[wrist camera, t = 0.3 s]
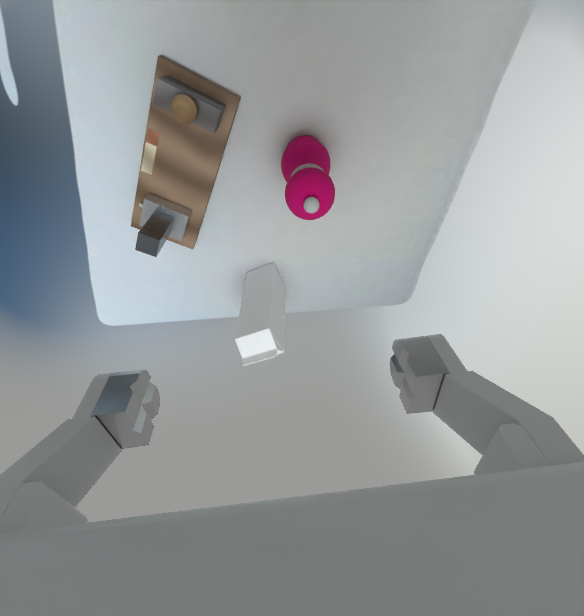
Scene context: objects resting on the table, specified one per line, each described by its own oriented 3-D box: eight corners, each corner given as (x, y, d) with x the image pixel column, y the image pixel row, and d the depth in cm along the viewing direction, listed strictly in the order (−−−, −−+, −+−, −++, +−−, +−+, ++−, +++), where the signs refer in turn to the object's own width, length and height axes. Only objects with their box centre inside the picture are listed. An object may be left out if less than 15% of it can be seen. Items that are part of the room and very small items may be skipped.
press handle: (142, 190, 52) (115, 217, 44) (191, 210, 54) (175, 240, 46) (137, 216, 55) (112, 247, 47) (184, 234, 57) (168, 266, 49)
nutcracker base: (161, 55, 43) (136, 58, 36) (240, 97, 46) (232, 107, 39) (133, 222, 58) (112, 248, 51) (194, 245, 61) (182, 272, 54)
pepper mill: (295, 188, 54) (298, 247, 39) (273, 147, 50) (266, 196, 35) (334, 166, 52) (354, 219, 37) (314, 121, 48) (327, 161, 32)
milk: (246, 272, 65) (232, 354, 48) (273, 262, 63) (268, 343, 46) (259, 293, 68) (250, 377, 51) (285, 284, 67) (284, 367, 50)
